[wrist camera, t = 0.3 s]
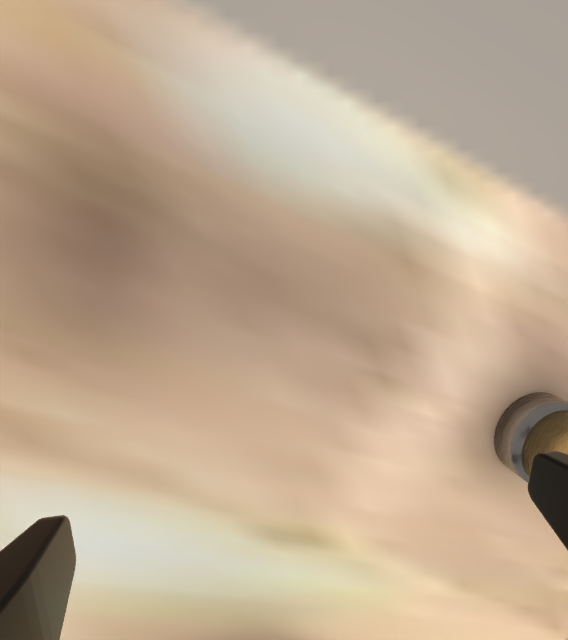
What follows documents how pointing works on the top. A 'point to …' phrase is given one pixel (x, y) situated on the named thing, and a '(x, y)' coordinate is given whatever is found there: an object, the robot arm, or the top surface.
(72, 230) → the top surface
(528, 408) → the tan cylindrical piece
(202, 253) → the top surface
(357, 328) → the top surface
